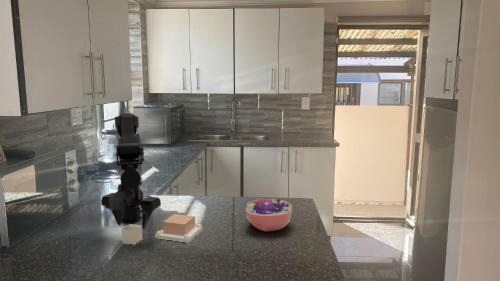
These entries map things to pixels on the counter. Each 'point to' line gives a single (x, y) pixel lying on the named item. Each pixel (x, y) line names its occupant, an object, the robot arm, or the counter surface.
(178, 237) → the base plate
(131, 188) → the robot arm
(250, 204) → the cell model
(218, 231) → the counter surface
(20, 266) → the counter surface
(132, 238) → the cream brick
